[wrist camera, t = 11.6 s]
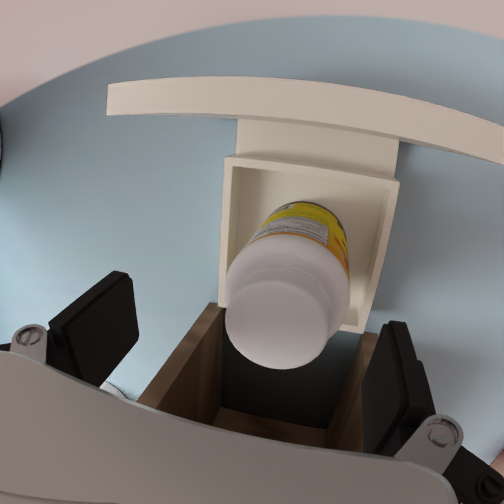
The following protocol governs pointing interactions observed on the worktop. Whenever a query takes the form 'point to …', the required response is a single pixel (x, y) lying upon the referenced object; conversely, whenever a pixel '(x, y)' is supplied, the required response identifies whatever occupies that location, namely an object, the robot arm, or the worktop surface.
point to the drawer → (312, 156)
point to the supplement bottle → (289, 287)
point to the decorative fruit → (499, 464)
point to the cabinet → (210, 413)
